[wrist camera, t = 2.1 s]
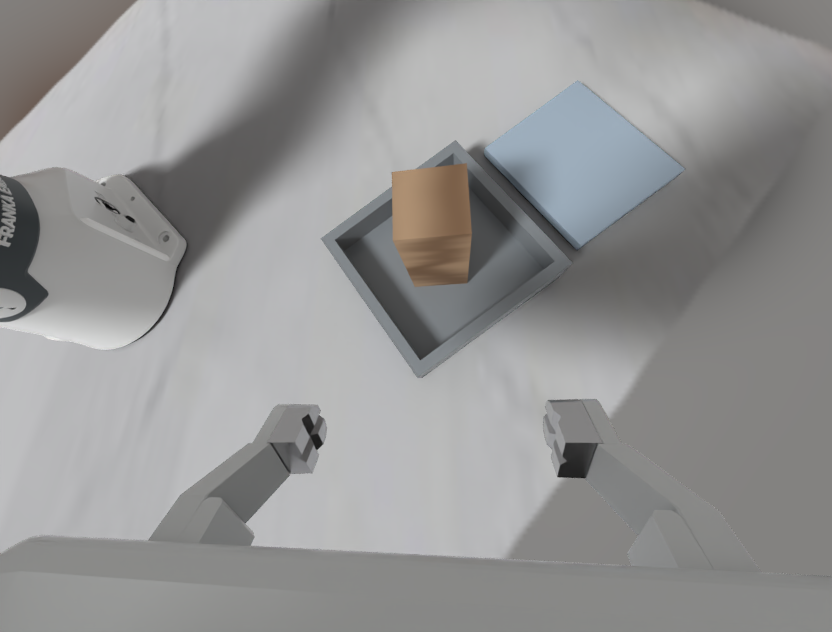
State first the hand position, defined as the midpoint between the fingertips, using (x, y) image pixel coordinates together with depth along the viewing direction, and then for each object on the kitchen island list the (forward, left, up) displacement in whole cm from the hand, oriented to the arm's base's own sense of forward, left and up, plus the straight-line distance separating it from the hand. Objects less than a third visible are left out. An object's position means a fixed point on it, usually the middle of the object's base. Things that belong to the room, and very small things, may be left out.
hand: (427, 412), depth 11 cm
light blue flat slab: (-10, +24, -17) cm, 31 cm away
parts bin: (-10, +7, -17) cm, 21 cm away
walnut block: (-10, +7, -16) cm, 20 cm away
